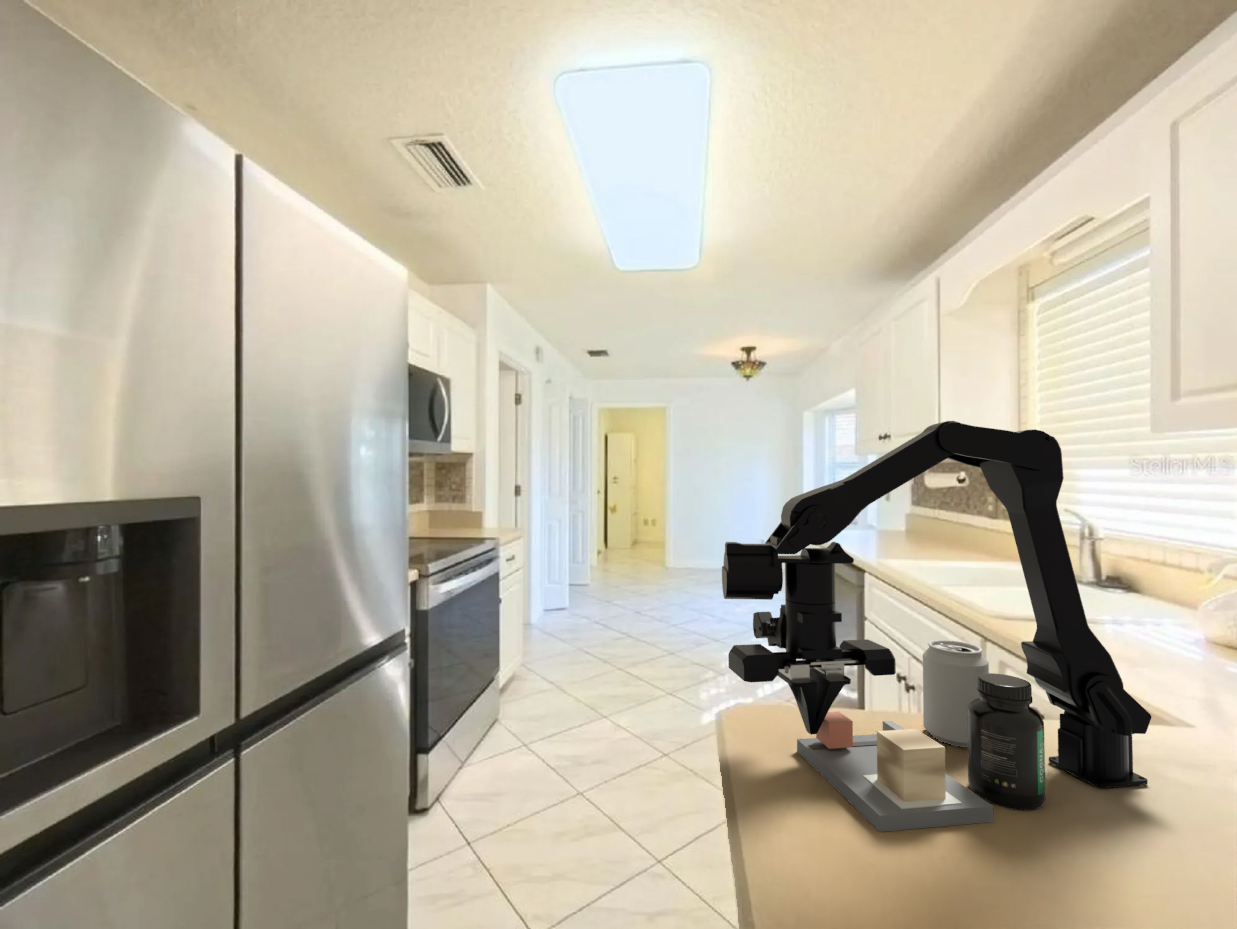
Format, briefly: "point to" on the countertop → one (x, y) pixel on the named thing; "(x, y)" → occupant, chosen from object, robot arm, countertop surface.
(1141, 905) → the countertop surface
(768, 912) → the countertop surface
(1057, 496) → the robot arm
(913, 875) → the countertop surface
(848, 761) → the base
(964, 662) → the can
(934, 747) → the block
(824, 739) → the salmon red cube
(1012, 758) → the supplement bottle
